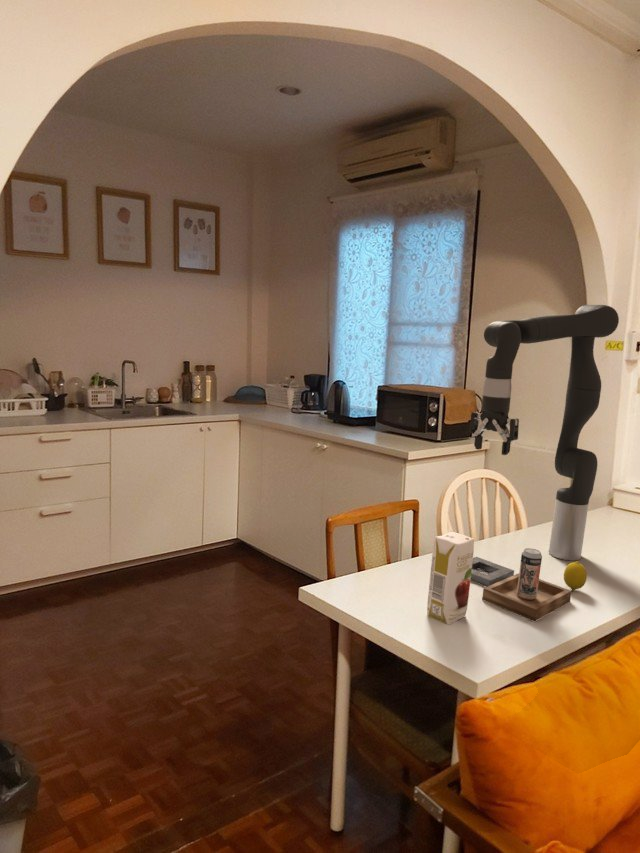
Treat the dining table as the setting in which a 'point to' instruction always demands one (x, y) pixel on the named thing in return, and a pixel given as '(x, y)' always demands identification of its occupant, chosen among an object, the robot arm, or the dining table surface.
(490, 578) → the socket block
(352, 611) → the dining table surface
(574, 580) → the lemon
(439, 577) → the juice carton
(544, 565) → the dining table surface
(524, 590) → the beer can
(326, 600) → the dining table surface
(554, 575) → the dining table surface
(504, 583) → the tray
